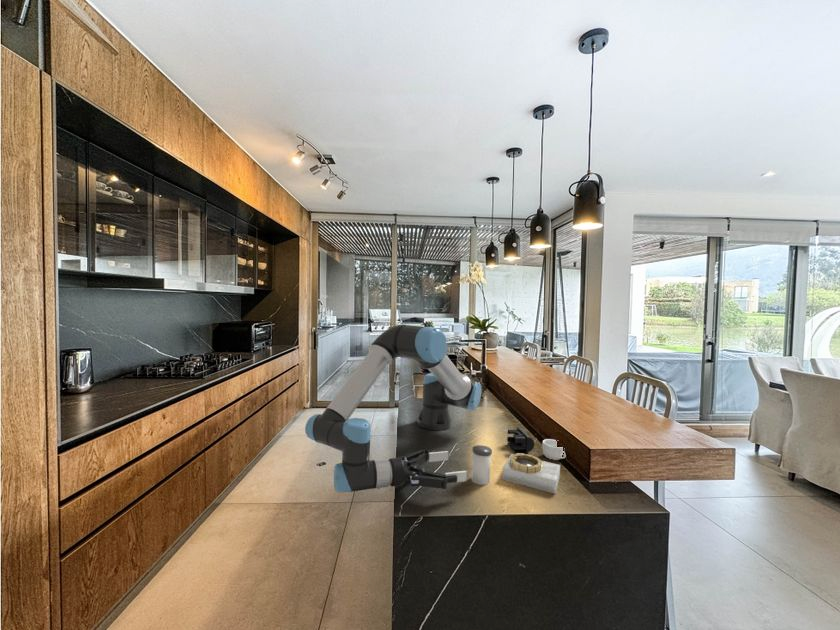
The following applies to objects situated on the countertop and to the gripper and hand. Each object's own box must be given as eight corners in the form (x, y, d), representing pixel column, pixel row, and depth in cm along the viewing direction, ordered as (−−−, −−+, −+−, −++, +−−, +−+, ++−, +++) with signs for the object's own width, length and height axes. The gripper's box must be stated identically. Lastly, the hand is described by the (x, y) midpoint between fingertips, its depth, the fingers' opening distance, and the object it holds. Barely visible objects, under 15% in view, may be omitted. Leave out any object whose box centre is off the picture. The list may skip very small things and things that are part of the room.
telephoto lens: (468, 481, 113) (470, 450, 113) (474, 473, 119) (475, 443, 118) (487, 487, 111) (488, 455, 110) (492, 478, 116) (494, 448, 116)
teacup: (537, 454, 136) (538, 440, 136) (553, 452, 139) (554, 438, 139) (556, 466, 127) (557, 451, 127) (573, 463, 130) (574, 448, 130)
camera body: (502, 479, 116) (503, 462, 115) (510, 464, 126) (511, 449, 126) (555, 493, 109) (556, 476, 108) (559, 476, 119) (560, 460, 119)
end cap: (533, 454, 136) (535, 436, 136) (515, 454, 135) (516, 436, 135) (523, 443, 146) (524, 427, 146) (506, 443, 145) (507, 427, 145)
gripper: (379, 465, 117) (440, 459, 124) (399, 509, 93) (474, 498, 100) (380, 442, 116) (441, 437, 123) (401, 481, 93) (475, 472, 100)
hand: (456, 465), depth 112 cm, fingers open, 13 cm apart
